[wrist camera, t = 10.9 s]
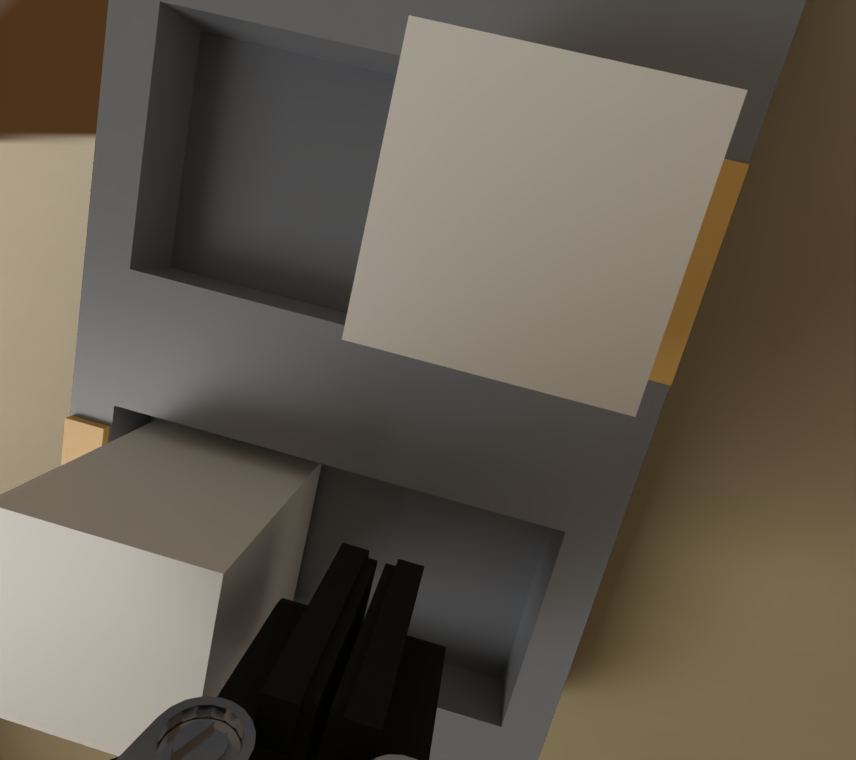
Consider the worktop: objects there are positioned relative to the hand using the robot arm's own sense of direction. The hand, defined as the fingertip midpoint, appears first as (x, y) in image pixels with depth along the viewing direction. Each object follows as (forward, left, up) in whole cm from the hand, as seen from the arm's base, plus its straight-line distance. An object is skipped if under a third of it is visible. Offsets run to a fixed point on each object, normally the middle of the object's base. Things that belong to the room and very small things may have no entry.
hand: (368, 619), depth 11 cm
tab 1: (0, -4, -3) cm, 5 cm away
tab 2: (-8, +1, -3) cm, 8 cm away
